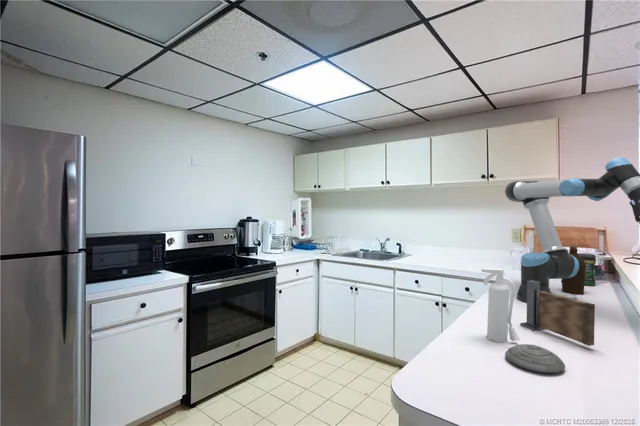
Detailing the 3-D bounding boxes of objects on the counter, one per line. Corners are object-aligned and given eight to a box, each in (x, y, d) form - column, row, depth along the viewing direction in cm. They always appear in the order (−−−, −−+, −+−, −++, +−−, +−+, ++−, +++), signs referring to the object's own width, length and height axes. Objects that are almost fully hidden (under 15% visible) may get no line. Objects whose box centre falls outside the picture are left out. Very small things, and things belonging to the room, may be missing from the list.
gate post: (520, 325, 128) (520, 280, 128) (531, 323, 130) (532, 279, 129) (534, 331, 122) (534, 283, 122) (546, 329, 124) (546, 282, 124)
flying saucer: (509, 348, 108) (510, 332, 108) (566, 362, 99) (566, 344, 99) (500, 365, 97) (500, 347, 97) (563, 383, 87) (563, 363, 87)
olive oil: (590, 294, 172) (591, 247, 172) (573, 295, 170) (574, 248, 170) (572, 289, 183) (572, 245, 182) (555, 290, 181) (556, 245, 180)
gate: (535, 325, 124) (535, 290, 124) (539, 324, 125) (540, 290, 124) (589, 345, 106) (589, 305, 106) (594, 344, 107) (594, 304, 106)
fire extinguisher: (515, 347, 108) (516, 273, 108) (478, 337, 117) (479, 268, 117) (522, 342, 113) (523, 270, 112) (486, 332, 122) (486, 265, 121)
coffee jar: (573, 284, 194) (574, 253, 194) (575, 282, 200) (576, 252, 200) (595, 287, 188) (595, 255, 187) (596, 284, 193) (596, 253, 193)
